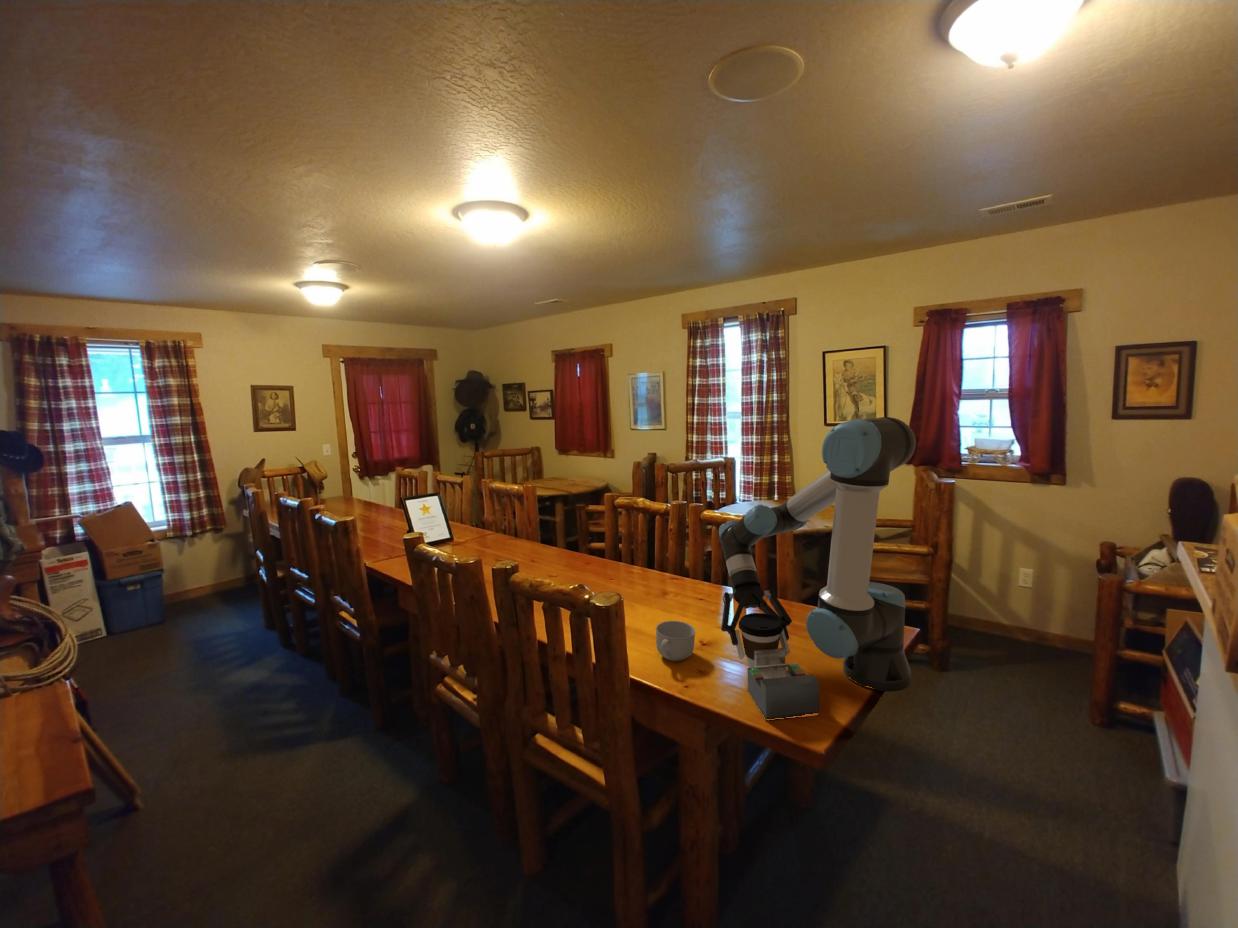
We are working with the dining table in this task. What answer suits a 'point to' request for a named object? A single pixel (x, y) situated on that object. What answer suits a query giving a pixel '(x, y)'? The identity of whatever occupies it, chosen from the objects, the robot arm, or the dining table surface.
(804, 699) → the grey box
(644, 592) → the dining table surface
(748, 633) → the coffee cup
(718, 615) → the dining table surface
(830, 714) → the dining table surface
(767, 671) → the grey bracket with plate
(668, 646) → the teacup
